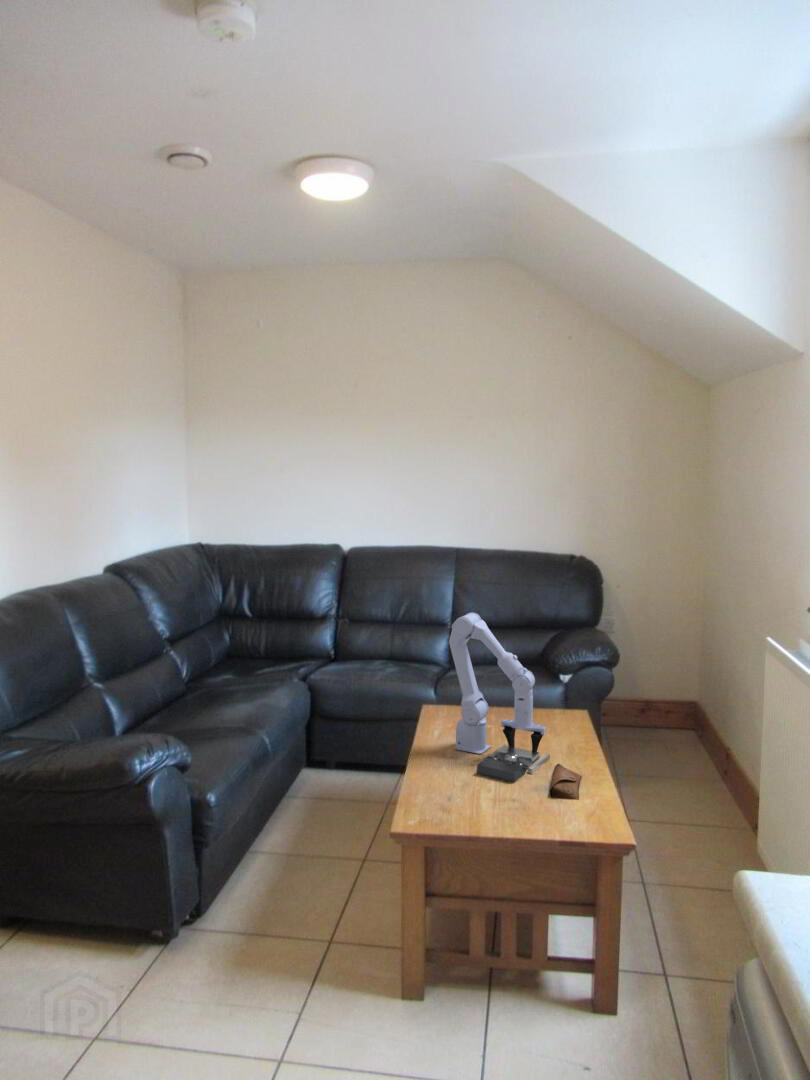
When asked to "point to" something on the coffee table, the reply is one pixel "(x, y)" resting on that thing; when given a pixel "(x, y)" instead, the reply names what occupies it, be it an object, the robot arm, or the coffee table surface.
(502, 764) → the fixed leaf
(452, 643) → the robot arm
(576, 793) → the sunglasses case
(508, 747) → the grey piece
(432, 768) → the coffee table surface
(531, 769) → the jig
